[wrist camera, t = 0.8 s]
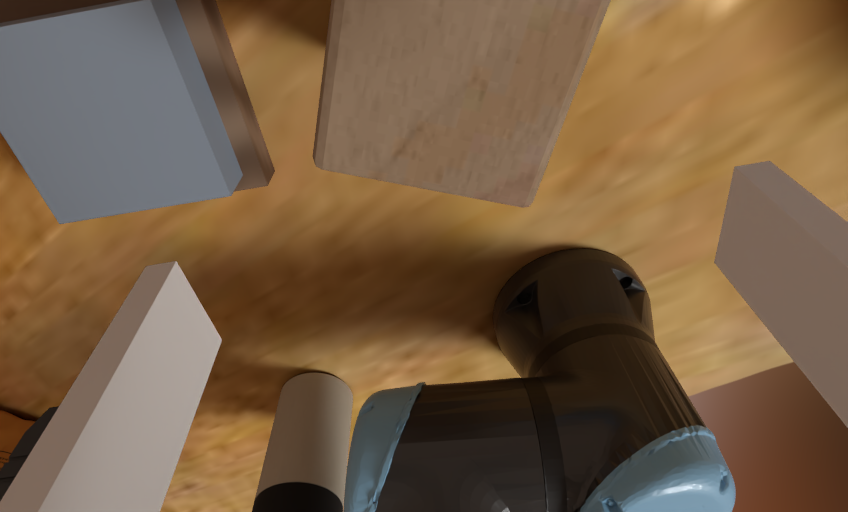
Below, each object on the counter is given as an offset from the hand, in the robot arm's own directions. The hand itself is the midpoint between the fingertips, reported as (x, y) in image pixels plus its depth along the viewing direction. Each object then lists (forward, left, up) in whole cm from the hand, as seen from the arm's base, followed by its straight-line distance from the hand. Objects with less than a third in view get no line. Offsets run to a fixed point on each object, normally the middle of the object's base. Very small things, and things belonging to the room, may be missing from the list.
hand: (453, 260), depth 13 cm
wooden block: (+2, -1, -30) cm, 30 cm away
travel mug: (-36, +17, -30) cm, 50 cm away
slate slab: (-1, +22, -27) cm, 35 cm away
